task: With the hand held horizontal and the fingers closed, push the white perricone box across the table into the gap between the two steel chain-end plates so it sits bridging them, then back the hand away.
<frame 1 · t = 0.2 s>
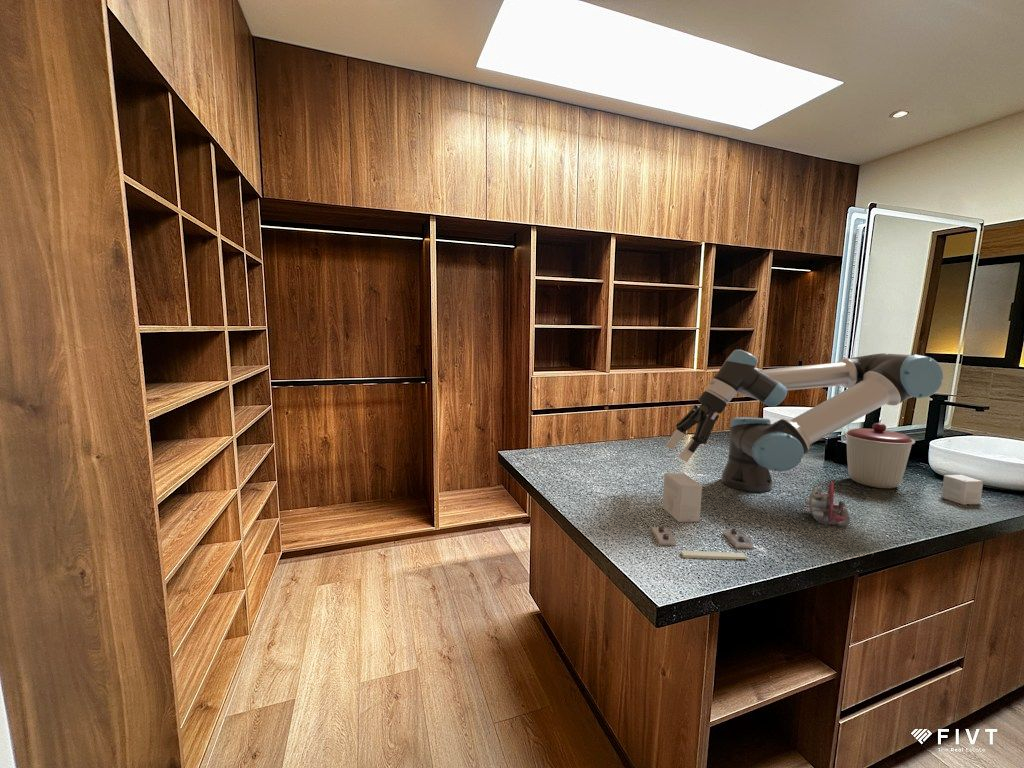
hand: (675, 453, 130), 14 cm above the table, tool tilted 35°, fingers open, 13 cm apart
skincare box 2: (680, 514, 120), on the table
canister: (873, 483, 144), on the table
grey red lumpy piece: (826, 520, 116), on the table
chain end 2: (737, 540, 104), on the table
cream long thin bar: (713, 556, 97), on the table
chain end 1: (663, 538, 105), on the table
skincare box: (960, 501, 129), on the table
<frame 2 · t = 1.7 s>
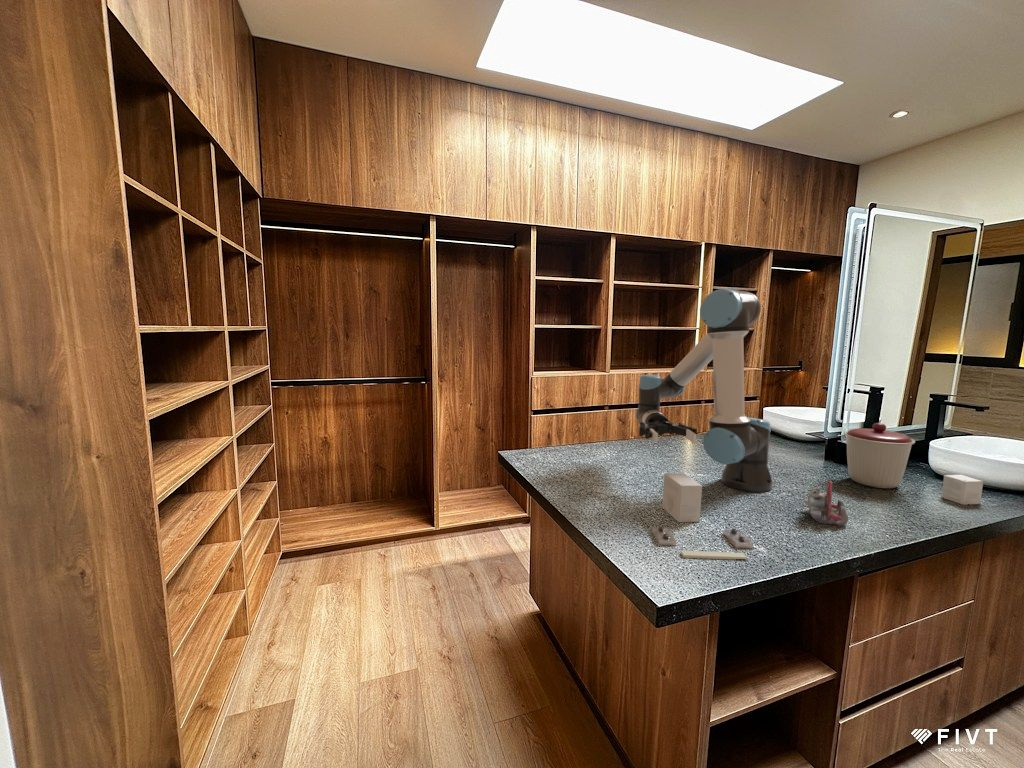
hand: (675, 438, 125), 20 cm above the table, tool horizontal, fingers open, 10 cm apart
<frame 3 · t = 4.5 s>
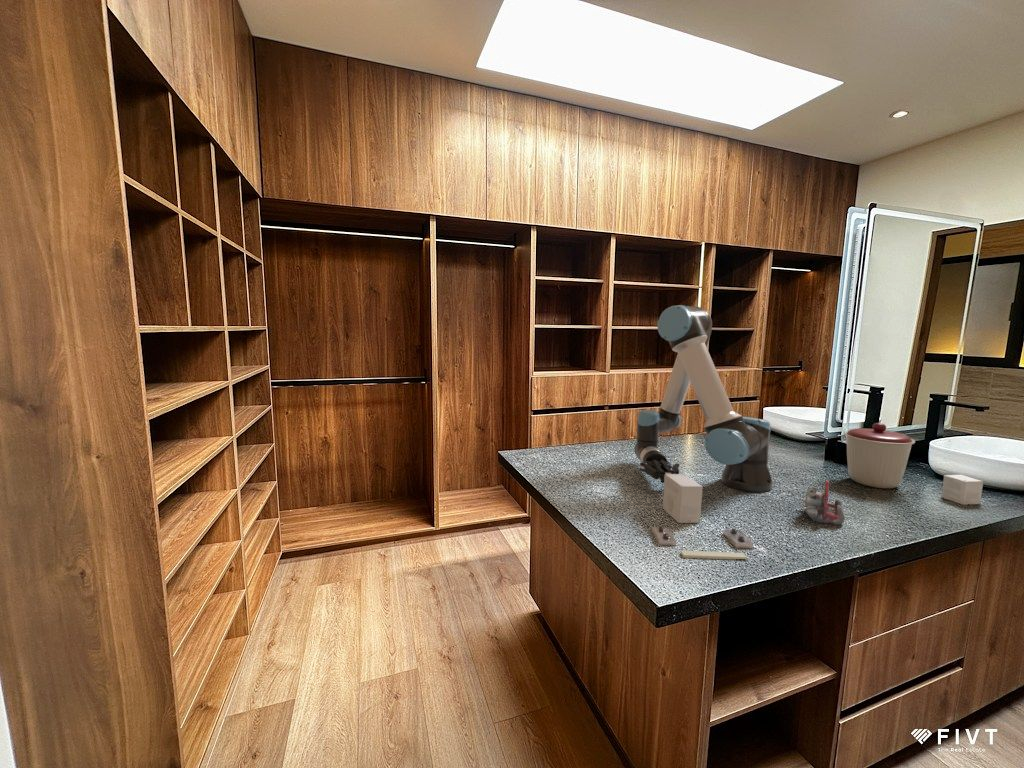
hand: (674, 484, 123), 7 cm above the table, tool horizontal, fingers closed
skincare box 2: (680, 515, 119), on the table, touching gripper
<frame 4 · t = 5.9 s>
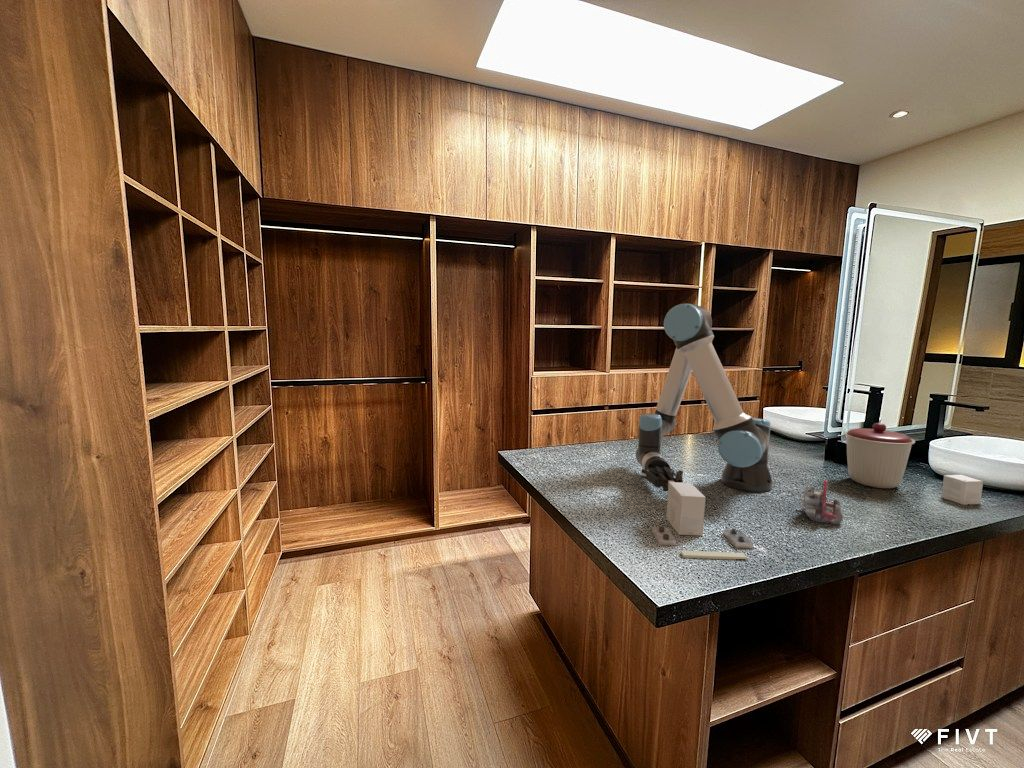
hand: (677, 493, 116), 7 cm above the table, tool horizontal, fingers closed
skincare box 2: (684, 527, 112), on the table, touching gripper
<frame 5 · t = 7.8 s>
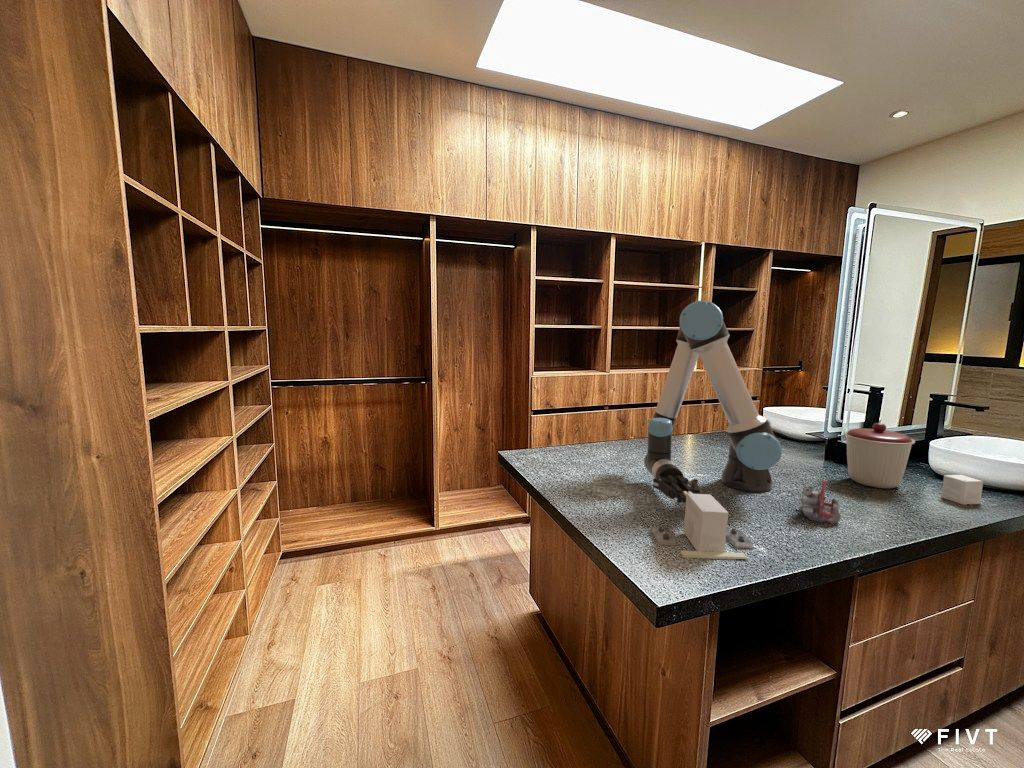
hand: (695, 505, 107), 7 cm above the table, tool horizontal, fingers closed, pressing on skincare box 2
skincare box 2: (703, 543, 103), on the table, touching gripper, cream long thin bar
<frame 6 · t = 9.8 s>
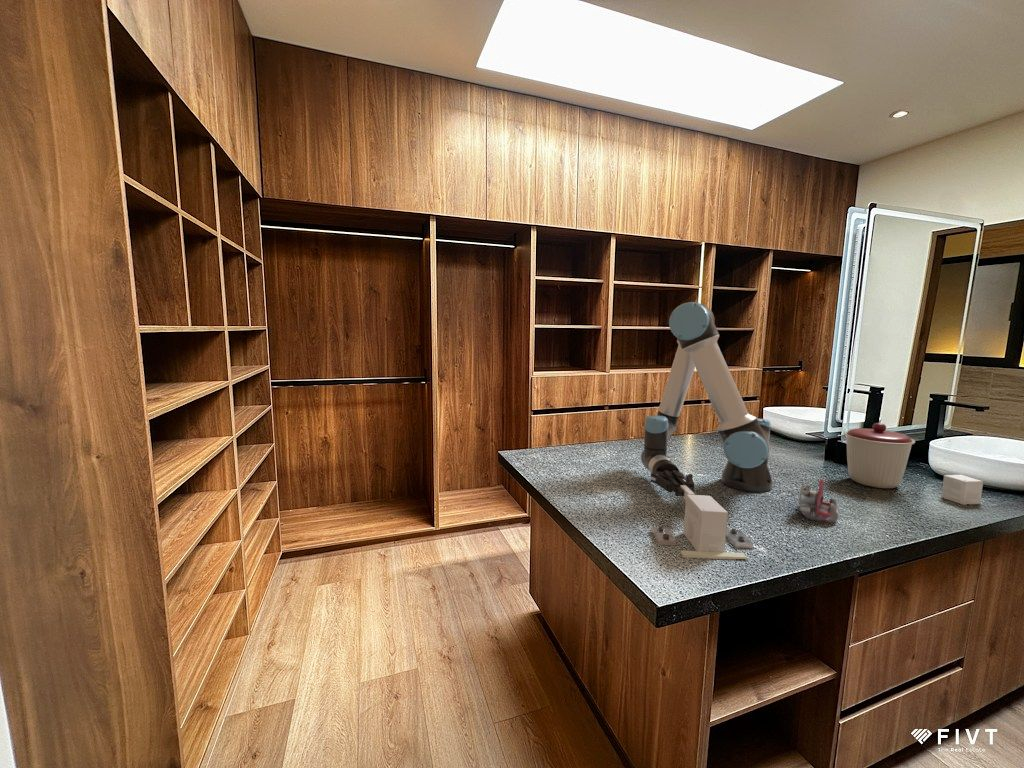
hand: (691, 498, 113), 7 cm above the table, tool horizontal, fingers closed
skincare box 2: (703, 544, 103), on the table
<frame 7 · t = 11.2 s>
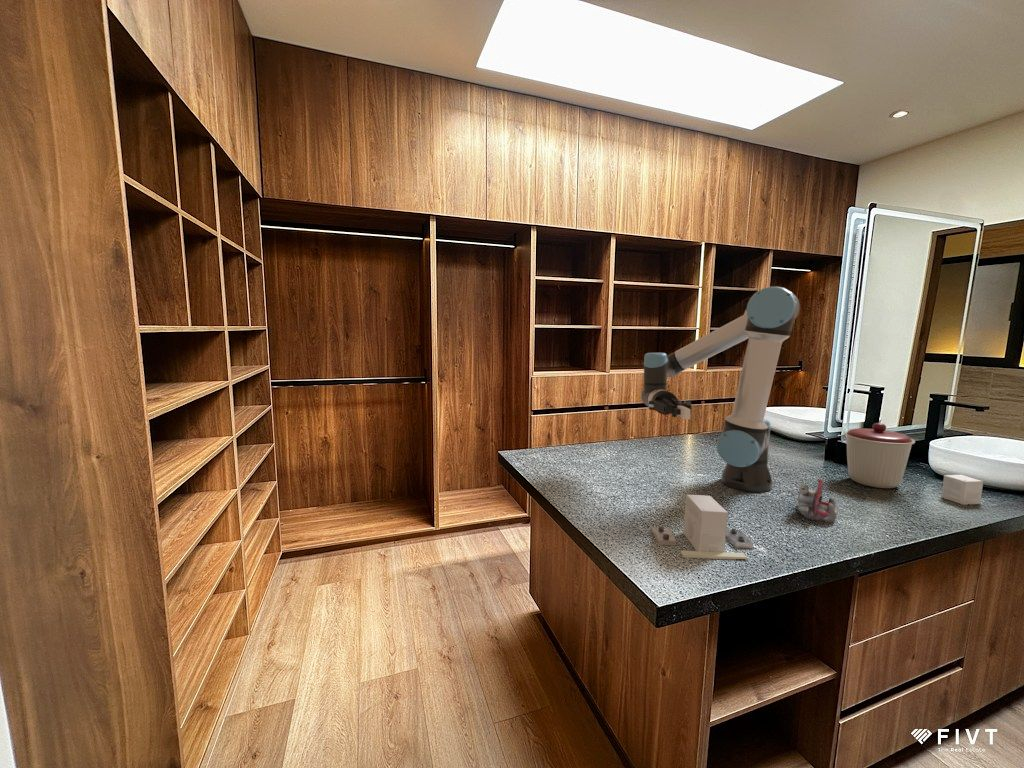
hand: (687, 414, 114), 29 cm above the table, tool horizontal, fingers closed
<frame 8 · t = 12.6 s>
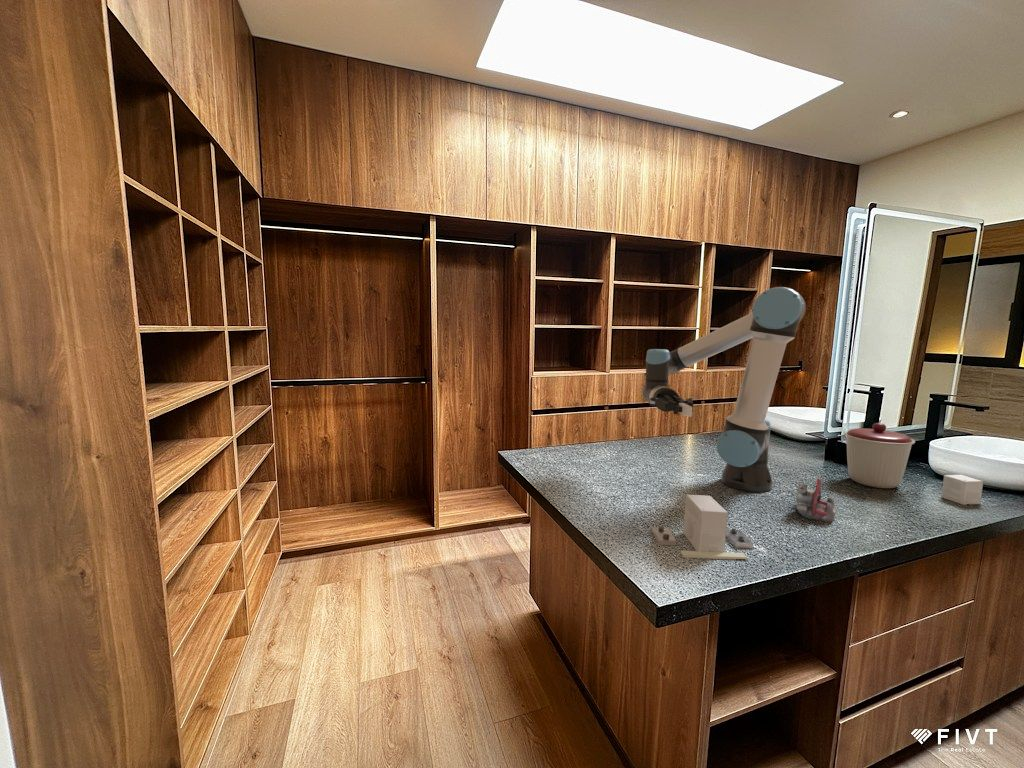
hand: (689, 411, 113), 30 cm above the table, tool horizontal, fingers closed
at the end: skincare box 2 inside the target area (1.3 cm from its centre), on the table; skincare box 2 tilted 0°; skincare box 2 moved 16.8 cm from its start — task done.
